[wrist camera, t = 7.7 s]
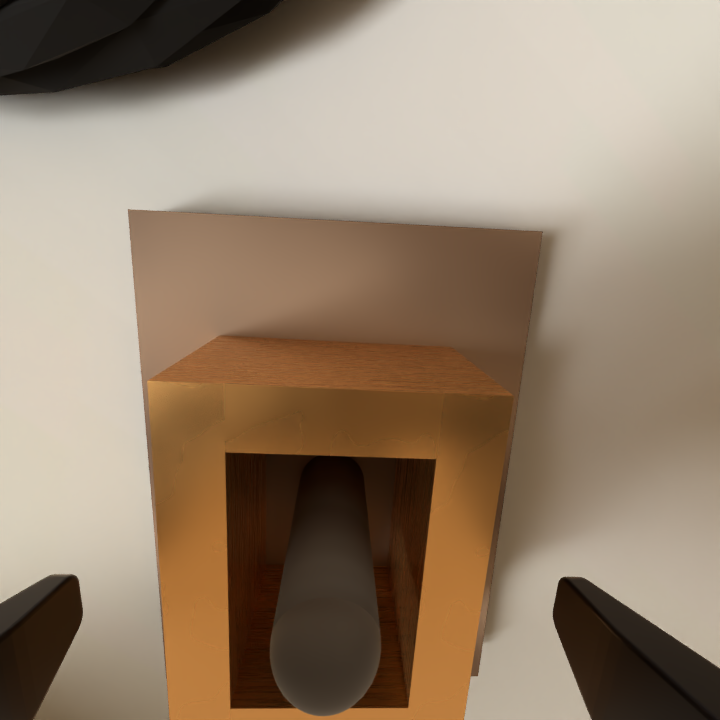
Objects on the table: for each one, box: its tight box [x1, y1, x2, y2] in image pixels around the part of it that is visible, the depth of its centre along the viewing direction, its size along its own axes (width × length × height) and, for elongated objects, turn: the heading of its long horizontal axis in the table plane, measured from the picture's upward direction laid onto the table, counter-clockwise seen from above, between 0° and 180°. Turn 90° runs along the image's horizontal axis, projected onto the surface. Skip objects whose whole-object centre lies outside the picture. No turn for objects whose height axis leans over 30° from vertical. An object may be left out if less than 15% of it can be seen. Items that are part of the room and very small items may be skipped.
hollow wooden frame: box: [147, 336, 514, 720], centre depth 10 cm, size 8×6×4 cm
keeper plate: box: [128, 209, 543, 716], centre depth 9 cm, size 14×10×7 cm
